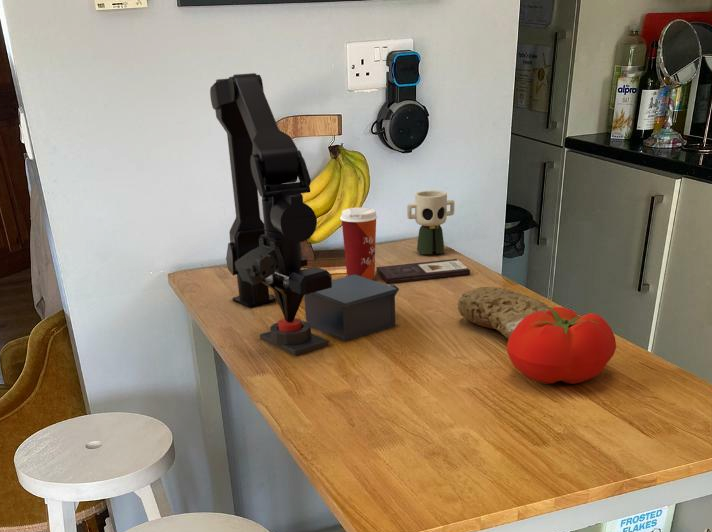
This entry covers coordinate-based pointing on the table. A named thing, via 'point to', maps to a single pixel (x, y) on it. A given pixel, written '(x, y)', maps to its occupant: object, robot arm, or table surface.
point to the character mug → (430, 219)
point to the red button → (290, 325)
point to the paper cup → (359, 240)
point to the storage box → (350, 316)
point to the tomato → (561, 346)
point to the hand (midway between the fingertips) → (289, 321)
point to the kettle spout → (395, 287)
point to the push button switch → (294, 339)
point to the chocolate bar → (422, 270)
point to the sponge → (498, 308)
